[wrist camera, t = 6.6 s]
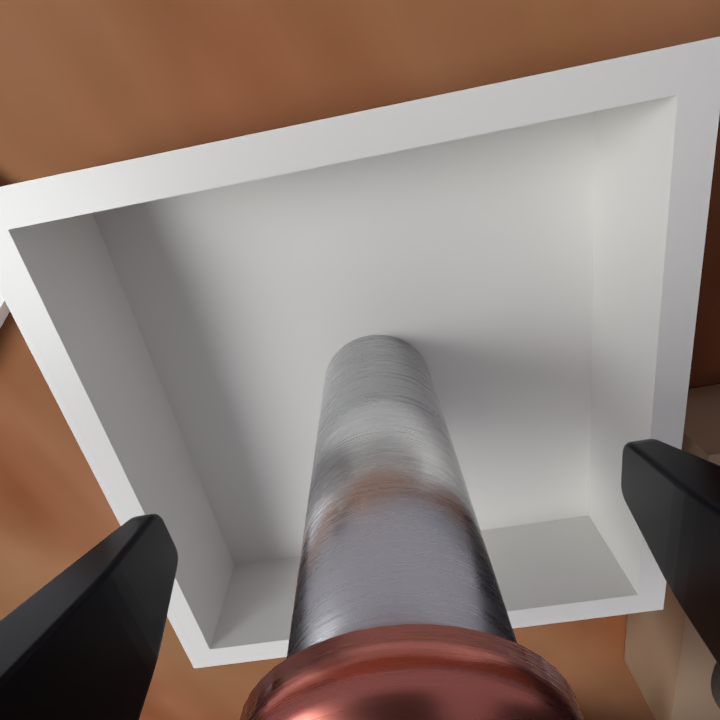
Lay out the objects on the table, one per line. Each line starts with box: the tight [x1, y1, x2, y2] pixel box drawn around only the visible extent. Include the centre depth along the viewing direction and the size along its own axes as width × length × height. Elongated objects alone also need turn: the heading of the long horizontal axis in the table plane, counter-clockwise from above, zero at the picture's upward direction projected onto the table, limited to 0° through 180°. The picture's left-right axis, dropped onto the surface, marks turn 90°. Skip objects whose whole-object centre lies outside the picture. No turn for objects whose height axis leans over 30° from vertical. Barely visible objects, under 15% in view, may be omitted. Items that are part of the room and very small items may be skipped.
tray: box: [0, 37, 720, 668], centre depth 10 cm, size 11×11×3 cm
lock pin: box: [240, 335, 584, 720], centre depth 8 cm, size 3×3×8 cm
